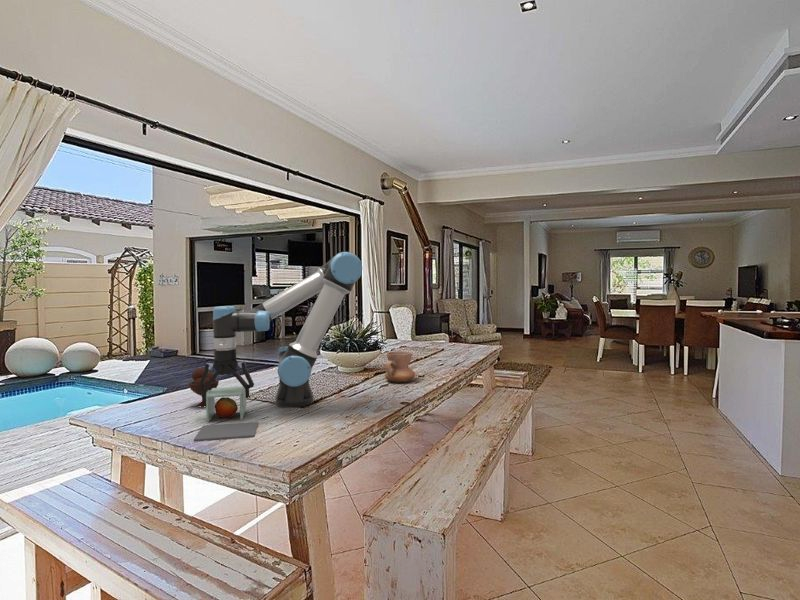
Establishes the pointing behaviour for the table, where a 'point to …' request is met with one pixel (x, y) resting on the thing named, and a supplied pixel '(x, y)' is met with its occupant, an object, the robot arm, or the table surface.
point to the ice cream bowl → (194, 384)
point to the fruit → (225, 407)
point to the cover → (223, 393)
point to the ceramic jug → (399, 367)
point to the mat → (226, 431)
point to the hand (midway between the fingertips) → (227, 407)
